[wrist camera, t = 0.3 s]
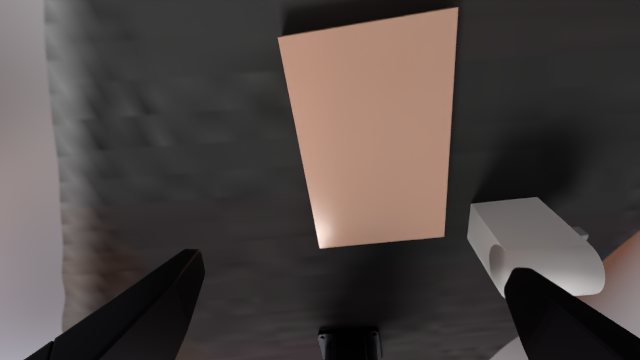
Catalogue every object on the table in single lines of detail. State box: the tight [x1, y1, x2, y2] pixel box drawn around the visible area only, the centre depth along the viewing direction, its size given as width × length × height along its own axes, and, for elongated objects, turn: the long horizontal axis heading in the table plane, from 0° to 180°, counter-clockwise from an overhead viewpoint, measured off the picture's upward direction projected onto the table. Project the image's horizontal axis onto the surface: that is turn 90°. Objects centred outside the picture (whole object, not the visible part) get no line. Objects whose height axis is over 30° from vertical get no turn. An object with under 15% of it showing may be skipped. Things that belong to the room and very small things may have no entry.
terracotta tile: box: [278, 7, 458, 248], centre depth 21 cm, size 16×10×2 cm, turn 9°
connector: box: [467, 197, 605, 299], centre depth 21 cm, size 4×6×7 cm, turn 99°
